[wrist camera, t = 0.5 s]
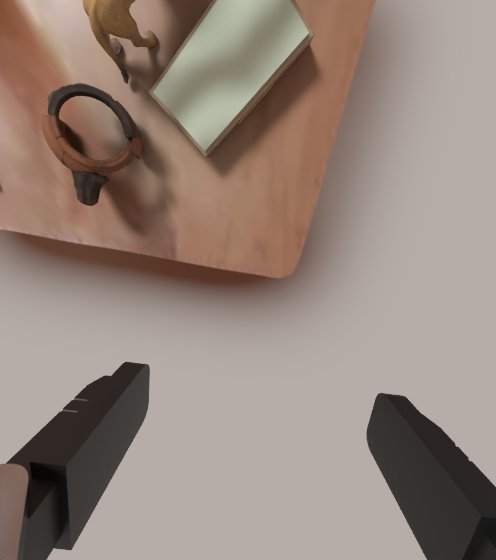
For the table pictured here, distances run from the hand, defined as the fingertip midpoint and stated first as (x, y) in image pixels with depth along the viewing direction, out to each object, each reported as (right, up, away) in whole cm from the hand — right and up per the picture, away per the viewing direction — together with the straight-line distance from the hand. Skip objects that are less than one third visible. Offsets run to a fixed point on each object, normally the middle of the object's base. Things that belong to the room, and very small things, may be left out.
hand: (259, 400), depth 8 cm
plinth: (-2, +26, +17) cm, 32 cm away
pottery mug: (-18, +21, +21) cm, 35 cm away
